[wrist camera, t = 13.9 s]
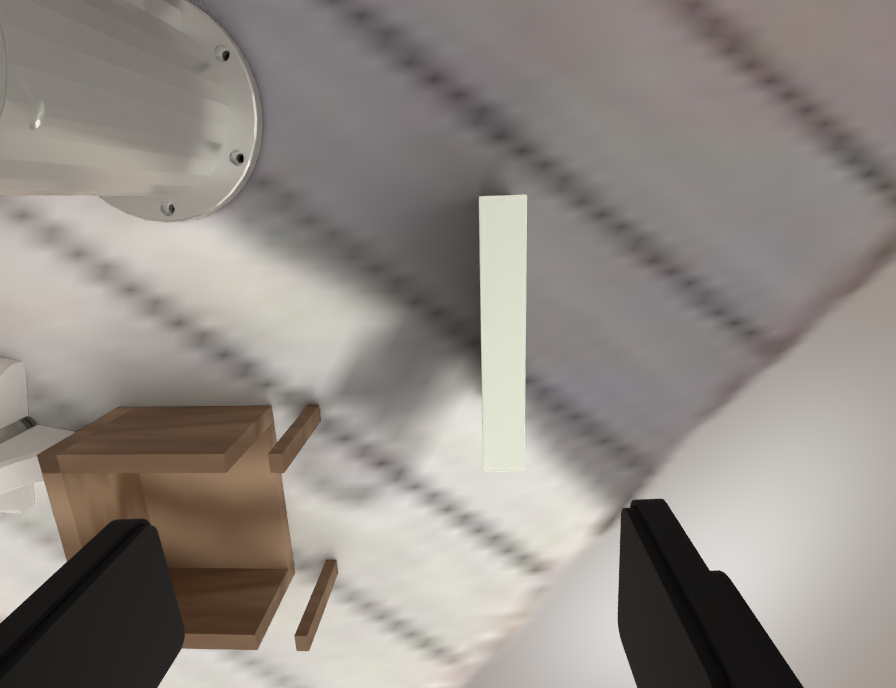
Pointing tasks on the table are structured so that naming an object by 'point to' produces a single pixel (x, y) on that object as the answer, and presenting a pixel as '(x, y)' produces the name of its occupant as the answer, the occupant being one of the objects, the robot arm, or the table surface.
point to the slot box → (195, 509)
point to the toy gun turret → (20, 440)
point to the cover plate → (503, 330)
